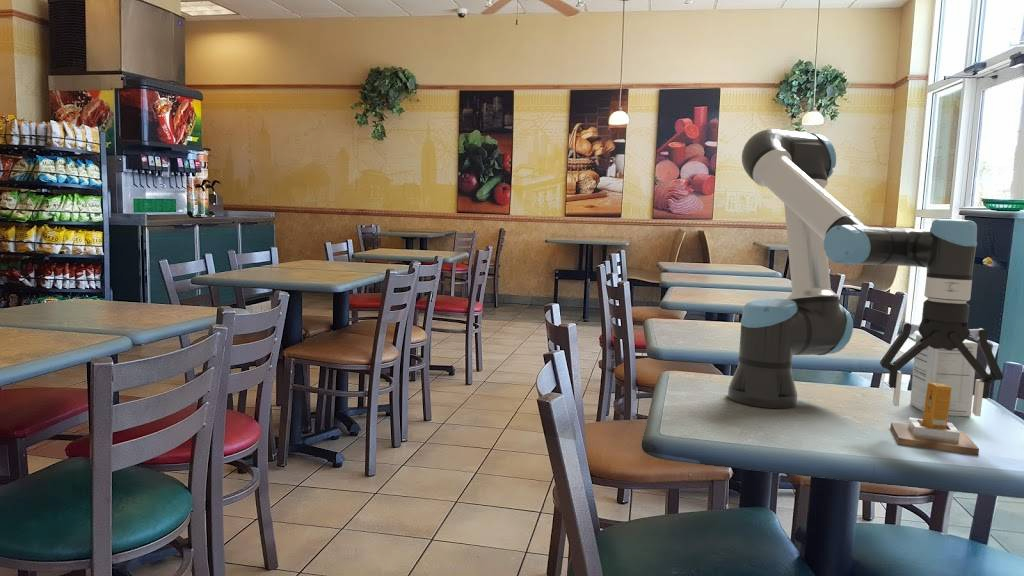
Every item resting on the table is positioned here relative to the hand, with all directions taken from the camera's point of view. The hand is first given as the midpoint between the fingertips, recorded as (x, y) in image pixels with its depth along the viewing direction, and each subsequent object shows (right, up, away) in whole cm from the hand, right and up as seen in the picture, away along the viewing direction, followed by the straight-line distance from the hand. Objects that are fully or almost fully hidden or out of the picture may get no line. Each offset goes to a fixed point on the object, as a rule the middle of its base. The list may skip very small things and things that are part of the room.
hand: (935, 409), depth 136 cm
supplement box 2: (0, -5, 0) cm, 5 cm away
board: (0, -6, +1) cm, 6 cm away
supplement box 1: (+16, -5, +25) cm, 30 cm away
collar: (0, -5, 0) cm, 5 cm away
